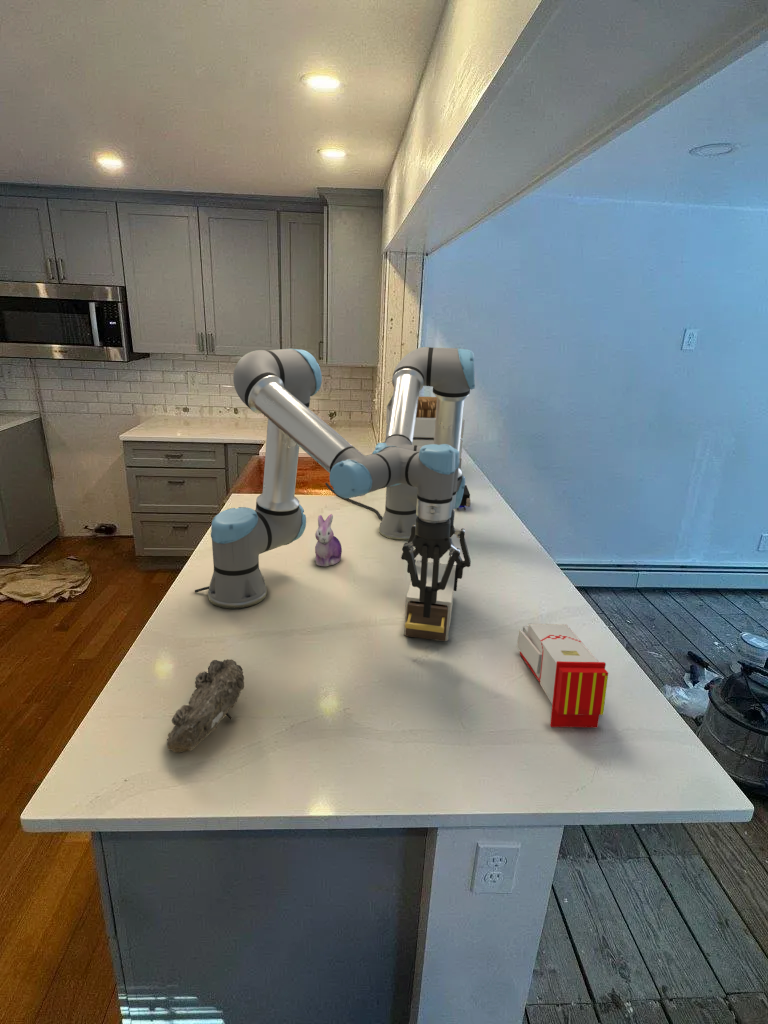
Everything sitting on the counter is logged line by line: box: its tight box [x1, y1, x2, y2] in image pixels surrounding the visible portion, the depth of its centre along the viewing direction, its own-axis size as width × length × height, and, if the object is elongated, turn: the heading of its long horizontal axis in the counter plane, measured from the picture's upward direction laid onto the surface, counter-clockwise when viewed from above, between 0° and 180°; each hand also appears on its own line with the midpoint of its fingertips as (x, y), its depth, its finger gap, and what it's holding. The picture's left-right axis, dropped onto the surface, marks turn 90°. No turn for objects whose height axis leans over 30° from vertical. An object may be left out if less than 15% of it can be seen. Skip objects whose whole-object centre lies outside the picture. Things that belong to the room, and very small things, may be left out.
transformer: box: [385, 395, 465, 471], centre depth 268 cm, size 34×33×41 cm
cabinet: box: [403, 560, 456, 642], centre depth 145 cm, size 21×11×10 cm, turn 170°
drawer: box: [404, 601, 448, 642], centre depth 140 cm, size 26×10×8 cm, turn 170°
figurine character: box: [456, 484, 471, 512], centre depth 229 cm, size 7×8×15 cm
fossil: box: [166, 658, 245, 754], centre depth 106 cm, size 22×10×15 cm
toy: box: [516, 623, 609, 728], centre depth 121 cm, size 12×13×30 cm
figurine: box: [314, 513, 343, 567], centre depth 173 cm, size 9×10×15 cm
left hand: (427, 614), depth 129 cm, fingers closed
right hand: (433, 586), depth 151 cm, fingers closed on cabinet, 11 cm apart
